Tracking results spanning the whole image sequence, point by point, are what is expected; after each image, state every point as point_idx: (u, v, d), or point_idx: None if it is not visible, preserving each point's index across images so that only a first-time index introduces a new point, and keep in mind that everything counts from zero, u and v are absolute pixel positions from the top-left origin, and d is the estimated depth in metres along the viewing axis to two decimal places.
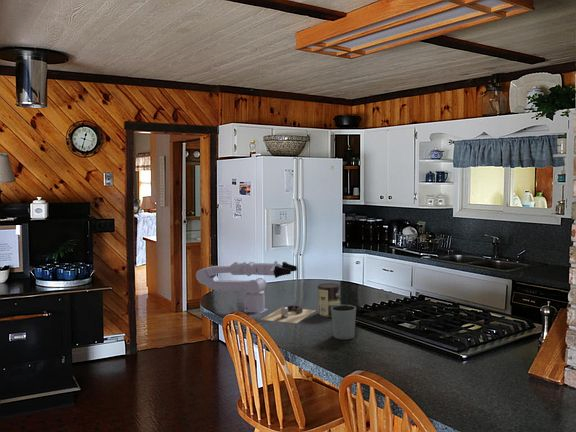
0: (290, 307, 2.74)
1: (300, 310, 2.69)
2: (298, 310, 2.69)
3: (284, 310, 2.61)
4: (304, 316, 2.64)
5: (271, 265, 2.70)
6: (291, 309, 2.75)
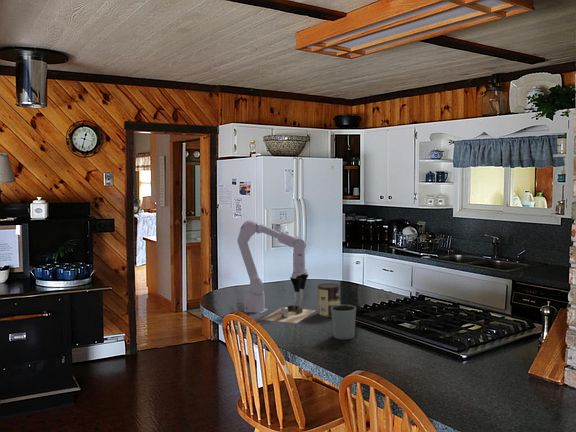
0: (290, 307, 2.74)
1: (300, 310, 2.69)
2: (298, 310, 2.69)
3: (284, 310, 2.61)
4: (304, 316, 2.64)
5: (302, 269, 2.76)
6: (291, 309, 2.75)
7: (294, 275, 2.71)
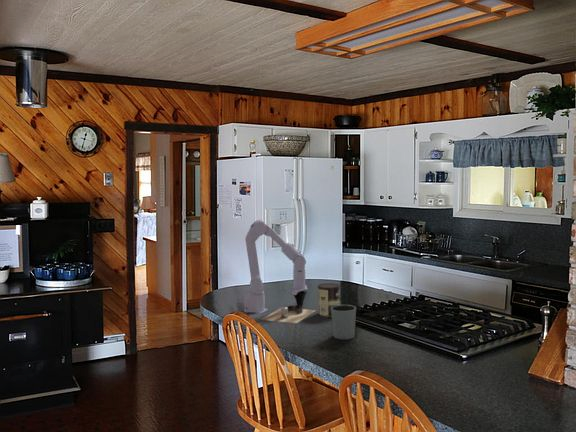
0: (290, 307, 2.74)
1: (300, 310, 2.69)
2: (298, 310, 2.69)
3: (284, 310, 2.61)
4: (304, 316, 2.64)
5: (302, 286, 2.76)
6: (291, 309, 2.75)
7: (294, 292, 2.72)
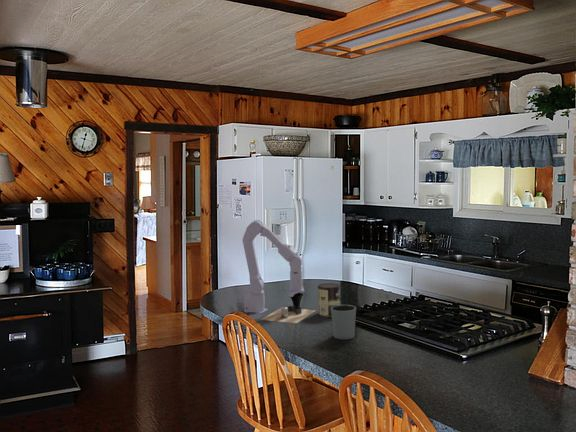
0: (289, 308, 2.73)
1: (299, 311, 2.68)
2: (297, 311, 2.68)
3: (284, 310, 2.61)
4: (304, 316, 2.64)
5: (299, 287, 2.73)
6: (290, 310, 2.74)
7: (291, 293, 2.68)
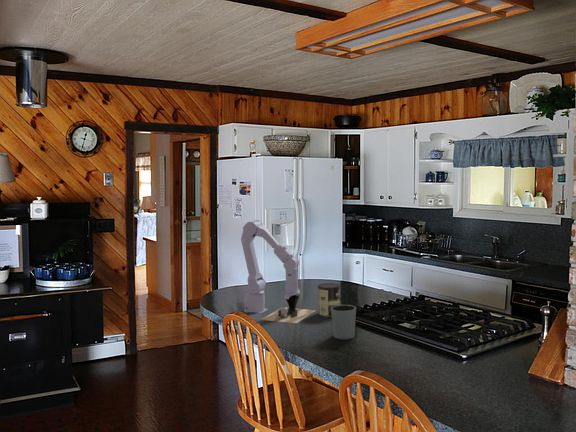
0: None
1: (295, 313, 2.63)
2: (293, 313, 2.63)
3: (284, 310, 2.61)
4: (304, 316, 2.64)
5: (295, 290, 2.68)
6: None
7: (287, 296, 2.64)
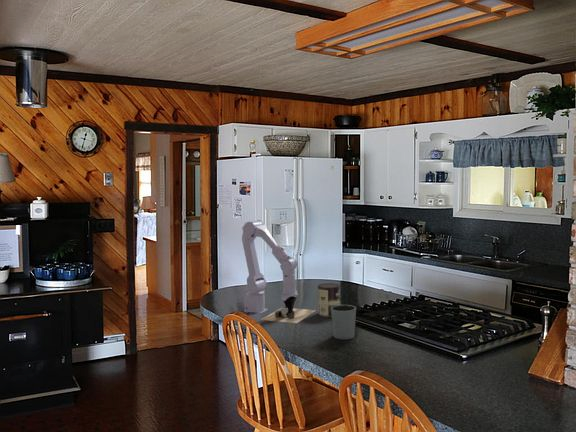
0: None
1: (292, 315, 2.60)
2: (290, 315, 2.60)
3: (284, 310, 2.61)
4: (304, 316, 2.64)
5: (292, 291, 2.65)
6: None
7: (284, 297, 2.61)
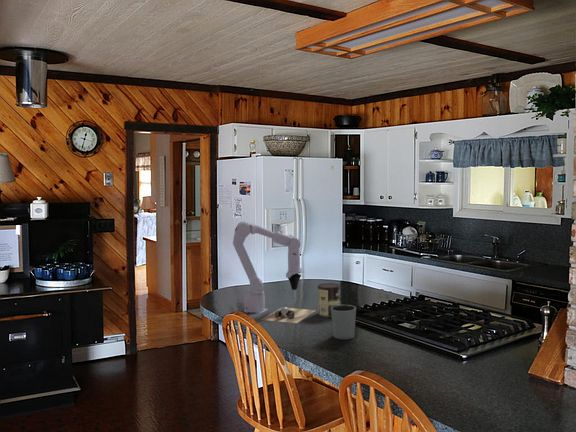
0: None
1: (292, 315, 2.60)
2: (290, 315, 2.60)
3: (284, 310, 2.61)
4: (304, 316, 2.64)
5: (296, 269, 2.76)
6: None
7: (288, 274, 2.71)
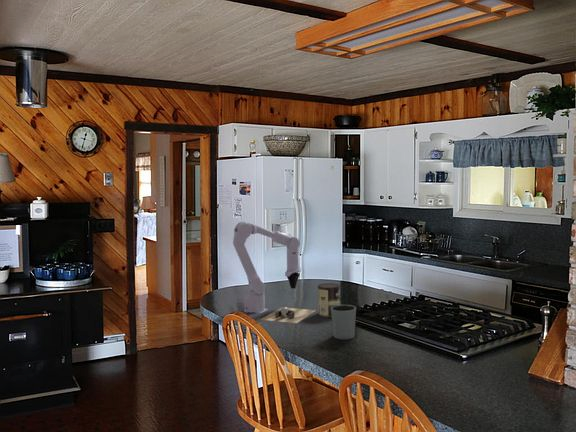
0: None
1: (292, 315, 2.60)
2: (290, 315, 2.60)
3: (284, 310, 2.61)
4: (304, 316, 2.64)
5: (295, 267, 2.79)
6: None
7: (288, 273, 2.74)
